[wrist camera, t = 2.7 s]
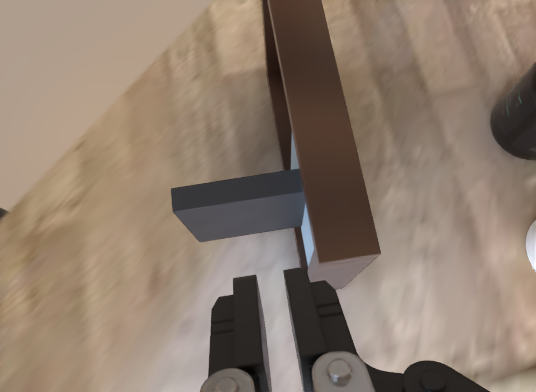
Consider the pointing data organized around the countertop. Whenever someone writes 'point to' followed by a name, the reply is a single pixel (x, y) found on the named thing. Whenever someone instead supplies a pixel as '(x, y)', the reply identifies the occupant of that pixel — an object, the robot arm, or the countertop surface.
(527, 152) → the supplement bottle
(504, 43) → the countertop surface
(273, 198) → the window pane
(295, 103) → the window frame
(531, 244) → the cylindrical container
